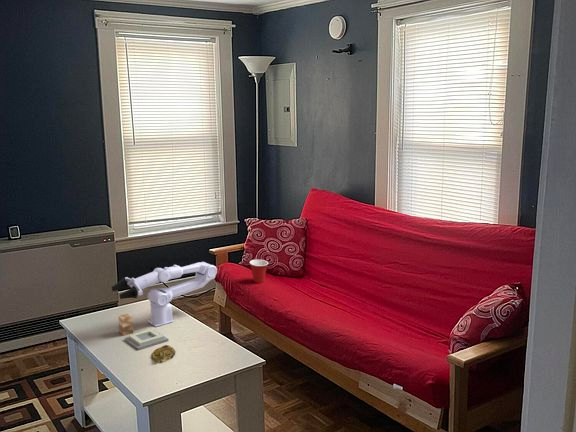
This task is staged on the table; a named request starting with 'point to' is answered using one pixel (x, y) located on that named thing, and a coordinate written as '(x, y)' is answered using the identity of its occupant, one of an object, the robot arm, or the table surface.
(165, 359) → the mottled brown rock
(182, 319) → the table surface
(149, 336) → the plate
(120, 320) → the tan block
